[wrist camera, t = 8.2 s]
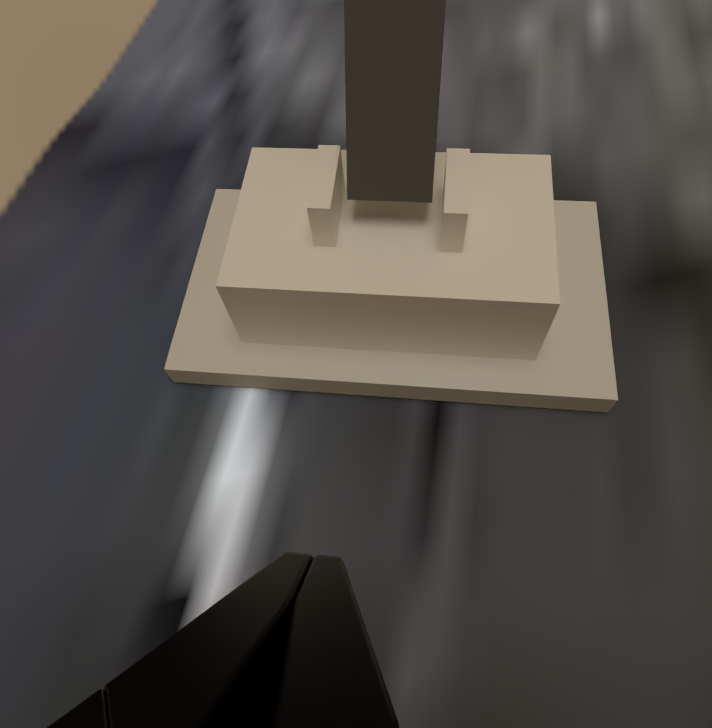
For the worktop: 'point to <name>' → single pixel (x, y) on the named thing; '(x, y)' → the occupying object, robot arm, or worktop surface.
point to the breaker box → (400, 287)
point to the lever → (392, 97)
